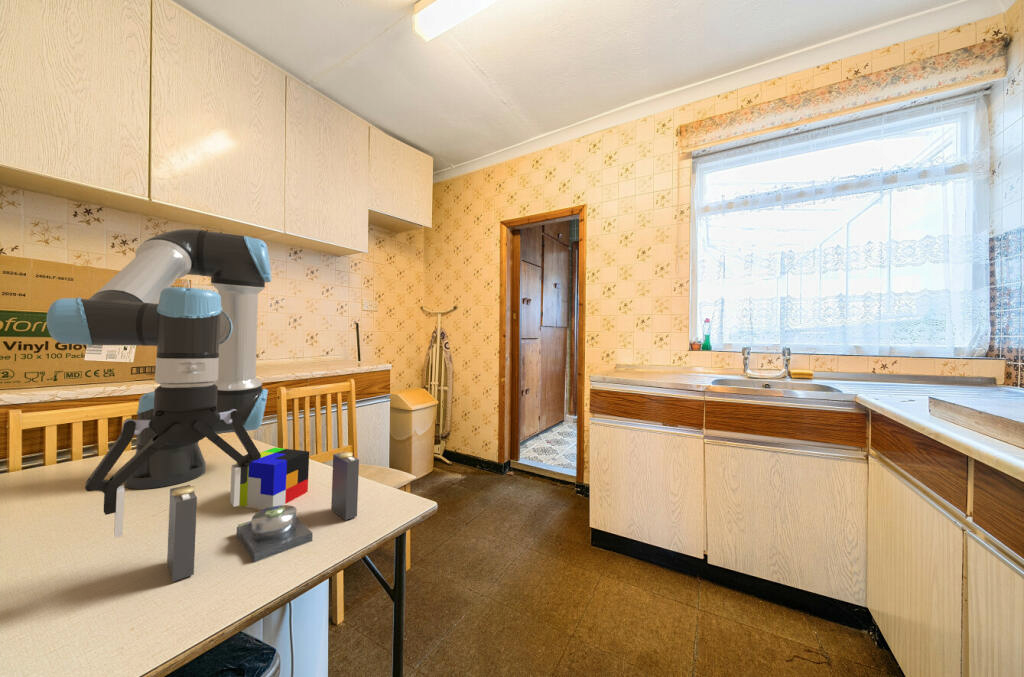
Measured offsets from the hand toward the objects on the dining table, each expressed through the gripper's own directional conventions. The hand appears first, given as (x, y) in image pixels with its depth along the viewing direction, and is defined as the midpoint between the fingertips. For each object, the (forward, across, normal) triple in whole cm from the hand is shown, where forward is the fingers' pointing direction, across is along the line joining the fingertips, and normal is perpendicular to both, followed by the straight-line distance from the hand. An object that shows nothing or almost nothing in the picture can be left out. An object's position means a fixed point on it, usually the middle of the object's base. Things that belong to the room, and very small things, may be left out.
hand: (181, 517), depth 57 cm
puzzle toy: (+8, +18, +20) cm, 28 cm away
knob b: (+8, +26, 0) cm, 28 cm away
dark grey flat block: (+8, 0, 0) cm, 9 cm away
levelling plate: (+8, +13, 0) cm, 16 cm away
